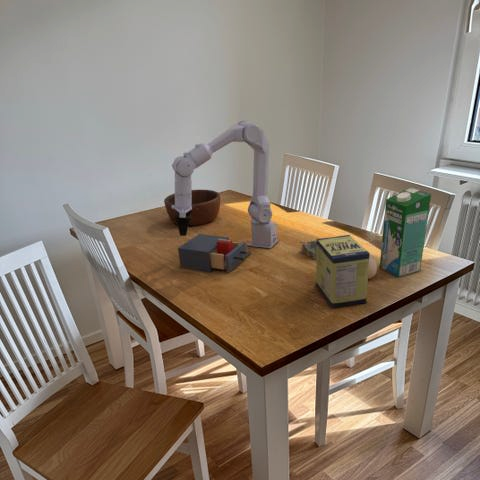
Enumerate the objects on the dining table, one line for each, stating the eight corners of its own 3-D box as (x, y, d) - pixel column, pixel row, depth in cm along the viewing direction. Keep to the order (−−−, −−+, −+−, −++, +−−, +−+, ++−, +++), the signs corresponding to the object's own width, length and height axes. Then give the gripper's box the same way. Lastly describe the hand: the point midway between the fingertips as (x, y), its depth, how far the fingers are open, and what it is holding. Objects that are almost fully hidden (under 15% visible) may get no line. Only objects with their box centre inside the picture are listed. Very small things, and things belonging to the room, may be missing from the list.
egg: (369, 273, 147) (371, 250, 143) (379, 279, 143) (382, 256, 138) (355, 276, 146) (356, 253, 142) (364, 283, 141) (366, 260, 137)
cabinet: (230, 256, 167) (228, 237, 164) (210, 272, 157) (208, 252, 153) (201, 252, 173) (199, 233, 169) (180, 267, 162) (177, 247, 158)
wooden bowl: (175, 211, 220) (172, 190, 214) (226, 210, 216) (224, 188, 211) (160, 229, 199) (156, 206, 193) (216, 228, 195) (214, 204, 190)
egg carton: (298, 251, 167) (298, 241, 165) (315, 246, 169) (315, 236, 167) (315, 260, 158) (315, 249, 156) (333, 255, 161) (333, 244, 159)
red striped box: (233, 259, 160) (232, 238, 156) (229, 262, 158) (227, 242, 154) (222, 257, 162) (220, 237, 158) (218, 260, 160) (216, 240, 156)
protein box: (346, 280, 144) (349, 233, 136) (366, 303, 130) (371, 253, 122) (315, 285, 143) (315, 238, 135) (332, 308, 129) (333, 258, 121)
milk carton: (379, 267, 150) (386, 191, 137) (401, 261, 153) (410, 186, 140) (397, 277, 143) (407, 198, 130) (420, 270, 146) (431, 193, 133)
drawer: (256, 258, 162) (255, 243, 159) (239, 273, 152) (238, 257, 149) (219, 253, 168) (217, 238, 165) (200, 267, 158) (198, 252, 156)
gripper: (172, 188, 162) (173, 225, 169) (170, 198, 149) (170, 238, 156) (192, 189, 163) (192, 226, 169) (191, 199, 150) (191, 238, 156)
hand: (183, 232), depth 163 cm, fingers open, 7 cm apart
